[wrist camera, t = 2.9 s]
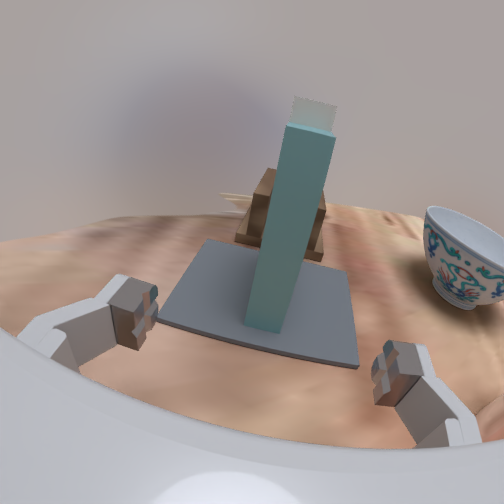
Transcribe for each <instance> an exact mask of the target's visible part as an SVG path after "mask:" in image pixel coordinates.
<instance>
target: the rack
mask: <svg viewBox="0 0 504 504" xmlns="http://www.w3.org/2000/svg"><path fill="white" fill-rule="evenodd" d="M276 171H277V170H275V169H270V168H268V169H267V171H266V172H265V174H264V176H263V178H262V179H261V181H260V183H259V185H258V186H257V188H256V190H255V192H254V194H253V200H252V204H251V206H250V208H249V209H248V211H247V213H246V215H245V217H244V219H243V221H242V223H241V225H240V227H239V228H238V230H237V232H236V238H235V241H236V242H240V243H244V244H248V245H253V246H257V247H261V242H262V238H263V233H264V228H265V224H266V219H267V214H268V209H269V205H270V200H271V195H272V190H273V186H274V181H275V176H276ZM325 213H326V205H325V199H324V193H323V191H322V195H321V198H320V202H319V206H318V209H317V213H316V217H315V220H314V224H313V227H312V231H311V234H310V238H309V241H308V245H307V248H306V251H305V255H304V258H307V259H311V260H315V261H319V262H321V260H322V257H323V254H324V252H323V239H322V223H323V220H324V216H325Z"/></svg>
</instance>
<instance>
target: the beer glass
mask: <svg viewBox="0 0 504 504" xmlns="http://www.w3.org/2000/svg"><path fill="white" fill-rule="evenodd" d="M475 417H476V420H477V424H478V428H479V431H480V435H481V439H482V443H483V442H490V441H495V440H501V439H504V393H503V394H501V395H500V396H499V397H498V398H496V399H495V400H494V401H492V402H491V403H489V404H488V405H486V406H485V407H484V408H482V409H481V410H480V411H479V412H478V413H477V415H476V416H475Z"/></svg>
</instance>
